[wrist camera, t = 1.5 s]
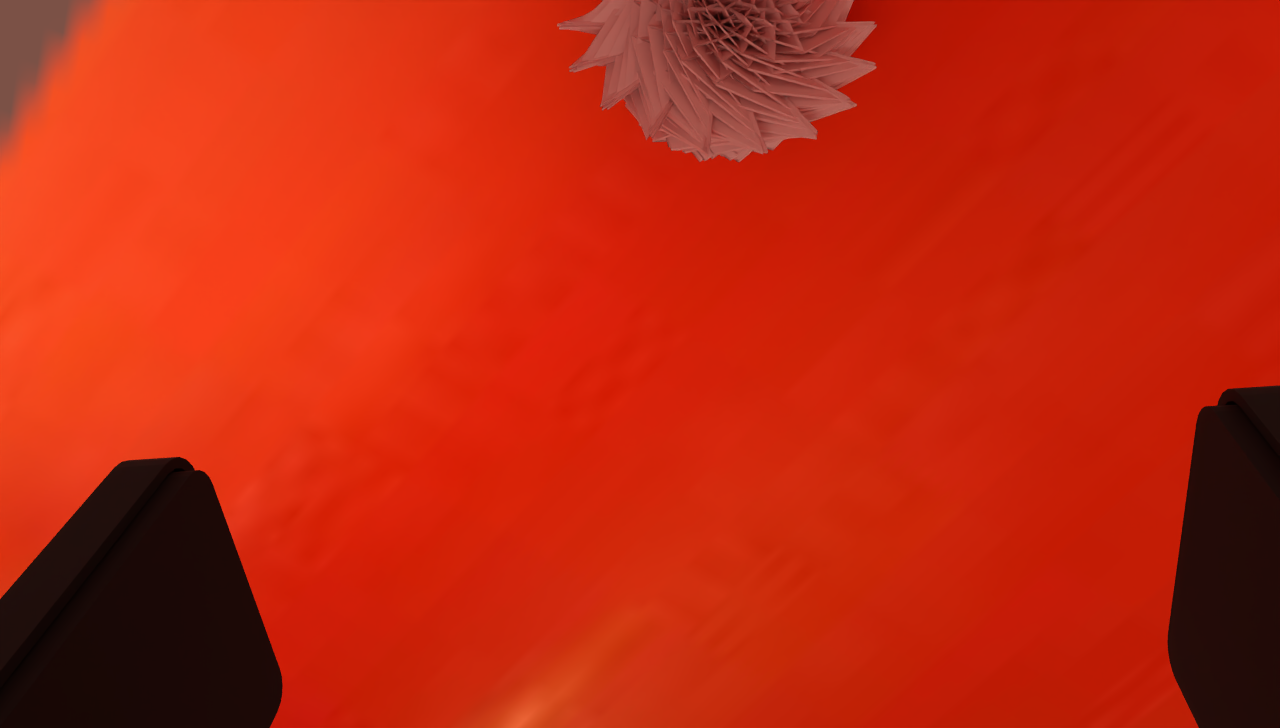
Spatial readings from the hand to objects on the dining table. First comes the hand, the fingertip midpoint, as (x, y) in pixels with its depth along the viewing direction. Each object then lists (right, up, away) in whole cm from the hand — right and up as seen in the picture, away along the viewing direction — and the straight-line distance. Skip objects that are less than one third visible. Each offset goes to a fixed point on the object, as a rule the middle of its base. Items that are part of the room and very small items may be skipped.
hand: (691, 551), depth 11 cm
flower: (+1, +11, +20) cm, 23 cm away
